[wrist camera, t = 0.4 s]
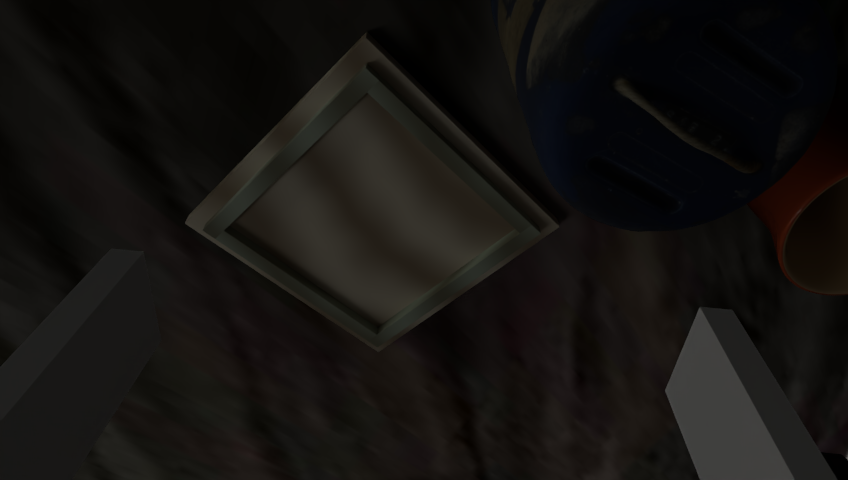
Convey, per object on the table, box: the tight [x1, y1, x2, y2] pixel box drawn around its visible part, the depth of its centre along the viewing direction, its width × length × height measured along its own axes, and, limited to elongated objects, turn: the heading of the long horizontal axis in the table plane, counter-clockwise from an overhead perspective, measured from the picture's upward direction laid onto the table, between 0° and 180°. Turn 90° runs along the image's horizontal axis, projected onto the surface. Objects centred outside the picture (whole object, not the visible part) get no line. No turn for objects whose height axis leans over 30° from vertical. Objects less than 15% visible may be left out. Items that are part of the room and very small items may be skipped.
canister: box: [491, 0, 838, 231], centre depth 25 cm, size 10×10×18 cm
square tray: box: [185, 32, 559, 352], centre depth 40 cm, size 18×18×2 cm
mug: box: [747, 96, 848, 295], centre depth 34 cm, size 12×9×10 cm
